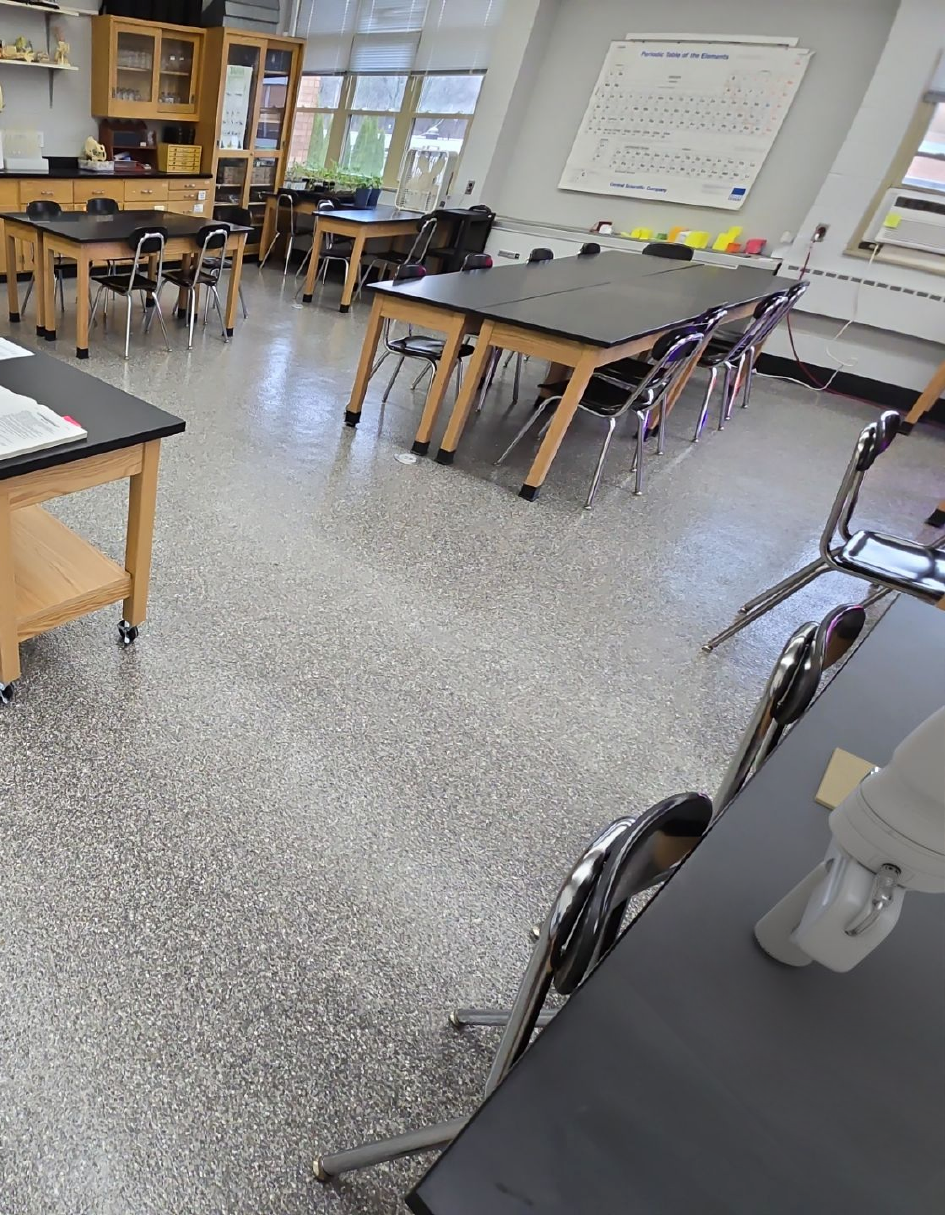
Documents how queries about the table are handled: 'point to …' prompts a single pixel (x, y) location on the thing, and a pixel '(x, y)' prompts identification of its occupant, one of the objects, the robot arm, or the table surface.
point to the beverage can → (789, 919)
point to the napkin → (841, 778)
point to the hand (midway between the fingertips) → (806, 921)
